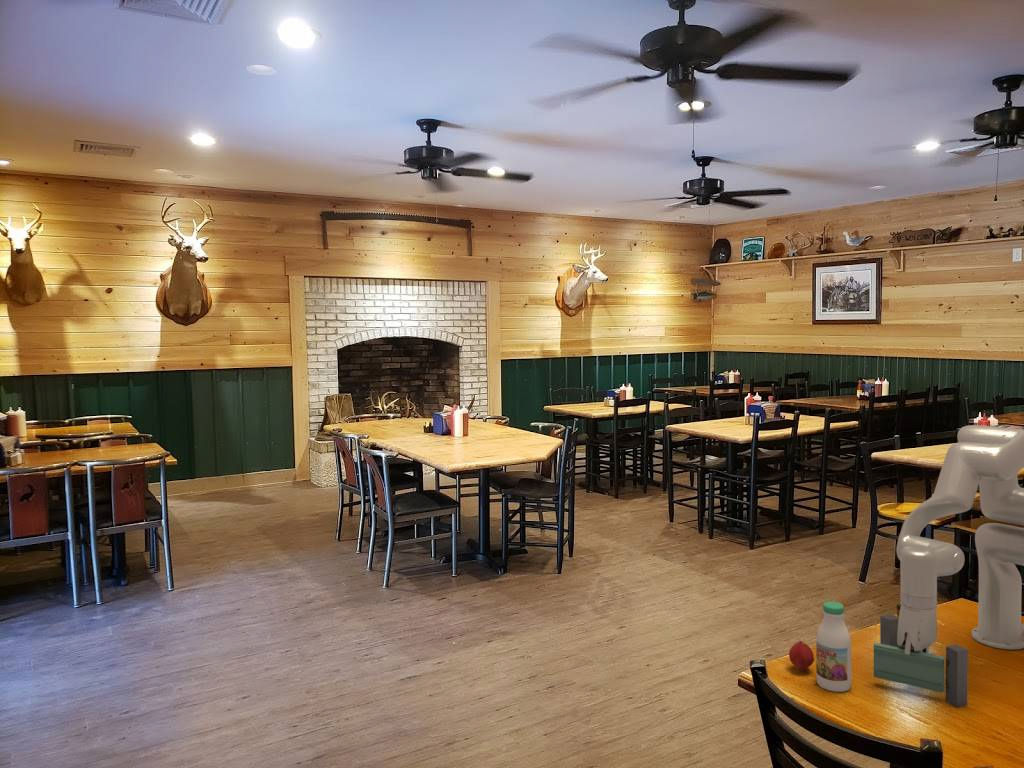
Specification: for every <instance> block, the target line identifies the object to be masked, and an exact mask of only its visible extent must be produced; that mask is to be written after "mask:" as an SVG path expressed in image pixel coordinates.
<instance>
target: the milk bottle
mask: <svg viewBox="0 0 1024 768" xmlns="http://www.w3.org/2000/svg"><path fill="white" fill-rule="evenodd" d="M844 607H845V606H844V605H843V604H842V602H841V603H840V602H838V601H825V602H824V603H823V604H822V613H823V619H822V621H821V623H820V625H819V627H818V630H817V632H816V633H817V634H816V640H815V641H816V643H815V646H816V649H815V653H816V655H815V657H816V659H815V663H816V668H815V669H816V682H817V685H818V687H820V688H822V689H824V690H826V691H830V692H835V693H838V692H839V693H843V692H848V691H849V690H850V689H851V687H852V639H851V636H850V632H849V630H848V627H847V626H846V624H845V621H844V615H845V612H844V611H845V608H844Z"/></svg>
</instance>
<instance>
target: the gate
mask: <svg viewBox="0 0 1024 768" xmlns="http://www.w3.org/2000/svg"><path fill="white" fill-rule="evenodd" d="M873 678H876V679H881V680H884V681H888V682H892V683H893V682H894V683H898V684H901V685H902V684H903V685H907V686H911V687H915V688H920V689H923V690H928V691H932V692H936V693H937V692H938V693H940V694H944V693H945V656H943V655H937V654H933V653H931V654H928V653H924V652H915V651H914V650H913V651H912V652H911V655H908V654H905V649H904V648H899V647H895V646H890V645H885V644H880V642H874V643H873Z"/></svg>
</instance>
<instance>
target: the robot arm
mask: <svg viewBox="0 0 1024 768" xmlns="http://www.w3.org/2000/svg"><path fill="white" fill-rule="evenodd" d="M1023 469H1024V429H1021V428H1012V427H999V426H993V425H991V426H990V425H979V424H978V425H977V424H975V425H974V424H971V425H965V426H962V427H961V428H959V430H958V432H957V442H956V443H953V444H951V445H950V446H949V447H948V449H947V452H946V454H945V456H944V460H943V463H942V466H941V470H940V472H939V476H938V479H937V483H936V486H935V489H934V492H933V494H932V496H931V497H929V498H928V499H926V500H924V501H923V502H922V503H921V504H919V505H918V506H916V507H915V508H914V509H913V510H912V511H911V512H910V513H909V514H908V516H906V517H905V520H904V521H903V523H902V526H901V528H900V529H901V530H900V533H899V535H898V540H897V542H896V543H897V544H896V555H897V558H898V560H899V561H900V564H899V565H900V566H899V567H900V574H899V575H900V576H899V577H900V603H901V605H902V606H901V608H900V613H899V620H898V634H897V644H898V646H900V647H902V646H904V645H905V654H908V655H911V652H912V651H913V650H914V651H915V652H924V653H929V650H930V647H932V645H934V644H935V643H936V641H937V639H938V619H937V616H938V615H937V609H938V577H946V576H947V577H948V576H952V575H955V574H957V573H958V572H959V571H961V570H962V568H963V567H964V565H965V561H966V560H965V554H964V552H963V551H962V549H961V548H960V547H959V546H958V545H955V544H953V543H949V542H946V541H942V540H941V541H940V540H937V539H932V538H927V537H923V536H921V533H922V531H923V530H924V528H926V526H927V525H928V524H930V523H932V522H933V521H935V520H938V519H940V518H944V517H947V516H952V515H955V514H956V515H957V514H961V513H965V512H968V511H969V510H971V509H972V508H973V504H974V503H975V502H974V501H975V499H976V495H977V491H978V489H979V504H980V505H979V506H980V510H981V513H982V514H983V515H984V516H985V517H986V518H987V519H990V520H993V521H998V522H1002V523H997V522H987V523H983V524H982V525H980V526H978V528H977V529H976V530H975V531H976V532H975V533H974V543H975V549H976V554H977V559H978V609H977V610H978V612H977V613H978V615H977V616H978V618H977V619H978V620H977V625H978V626H976V627H974V628H972V629H971V637H972V638H973V639H974V640H975V641H976V642H979V643H980V644H982V645H986V646H988V647H991V648H996V649H1001V650H1011V651H1013V650H1014V651H1015V650H1021V649H1022V650H1023V649H1024V635H1023V634H1024V622H1022V589H1023V588H1022V585H1023V584H1022V576H1021V573H1020V571H1019V570H1018V568H1017V566H1016V565H1020V566H1024V527H1019V526H1024V487H1021V486H1020V484H1019V480H1018V473H1019V472H1020V471H1021V470H1023ZM1004 523H1008V524H1004ZM1009 524H1013V525H1009ZM1015 525H1016V526H1015ZM1017 525H1018V526H1017Z"/></svg>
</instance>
